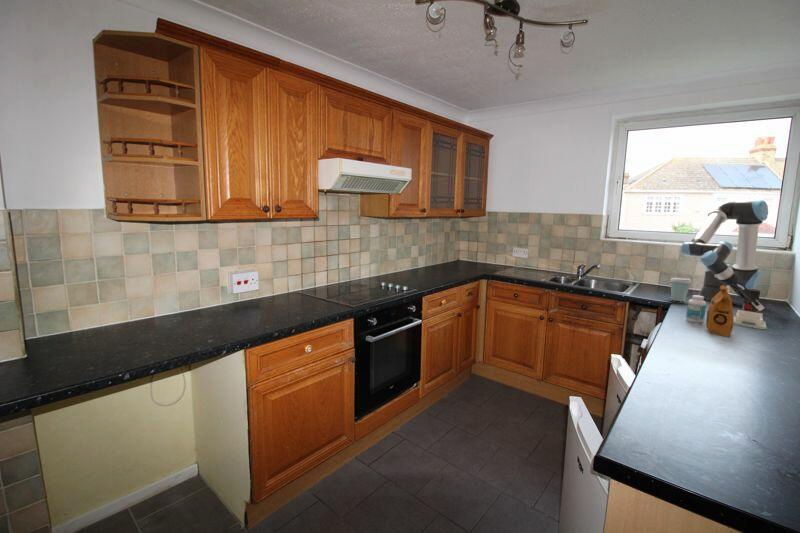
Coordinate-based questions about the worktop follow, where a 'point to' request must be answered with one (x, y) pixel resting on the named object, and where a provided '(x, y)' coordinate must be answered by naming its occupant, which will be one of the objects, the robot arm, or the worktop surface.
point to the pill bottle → (696, 309)
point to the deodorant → (746, 304)
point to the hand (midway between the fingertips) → (758, 307)
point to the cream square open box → (749, 319)
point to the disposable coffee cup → (679, 288)
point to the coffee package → (720, 314)
